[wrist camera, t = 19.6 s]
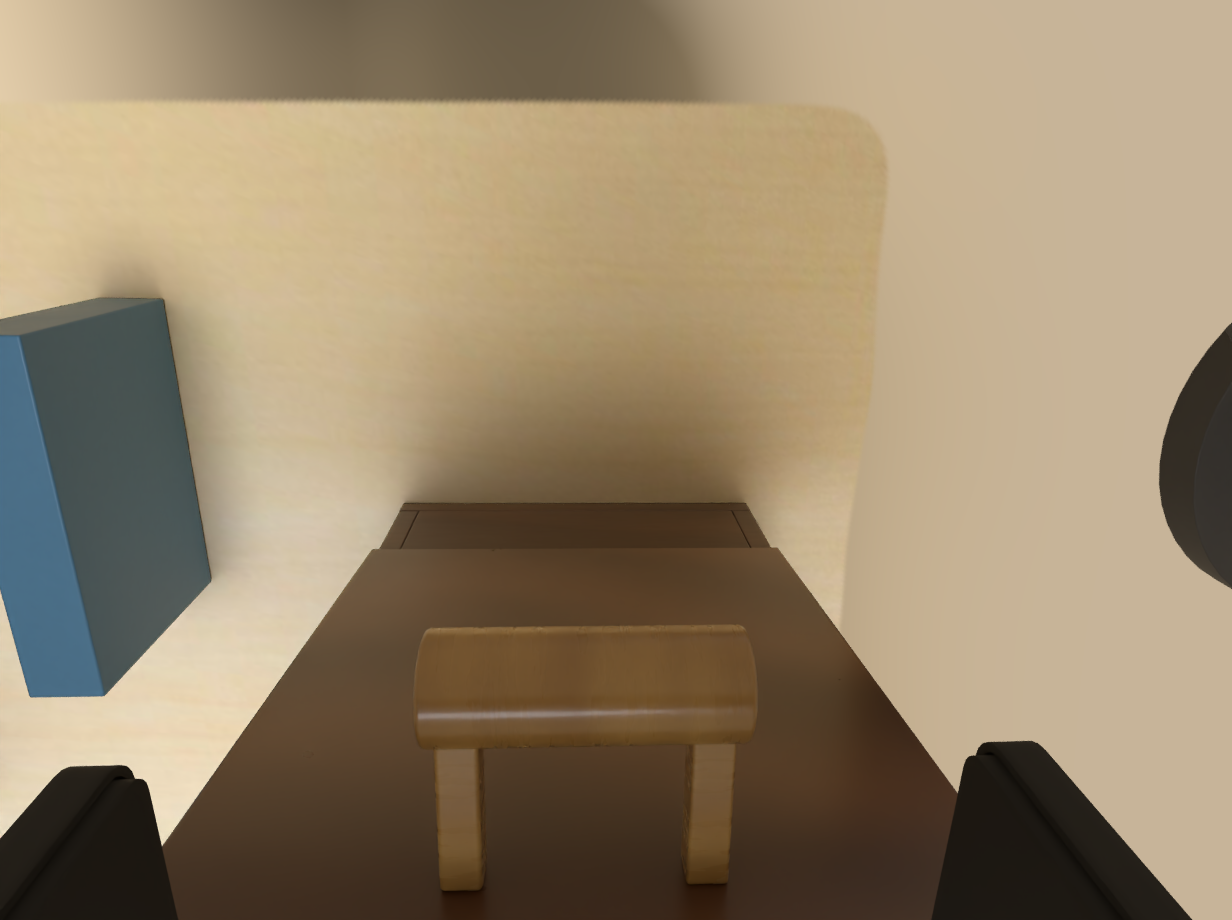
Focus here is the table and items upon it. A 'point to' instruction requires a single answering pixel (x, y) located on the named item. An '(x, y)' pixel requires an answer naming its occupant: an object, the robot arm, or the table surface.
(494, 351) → the table surface
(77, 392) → the blue hardcover book
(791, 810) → the lid
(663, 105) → the table surface
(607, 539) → the box
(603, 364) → the table surface
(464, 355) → the table surface
